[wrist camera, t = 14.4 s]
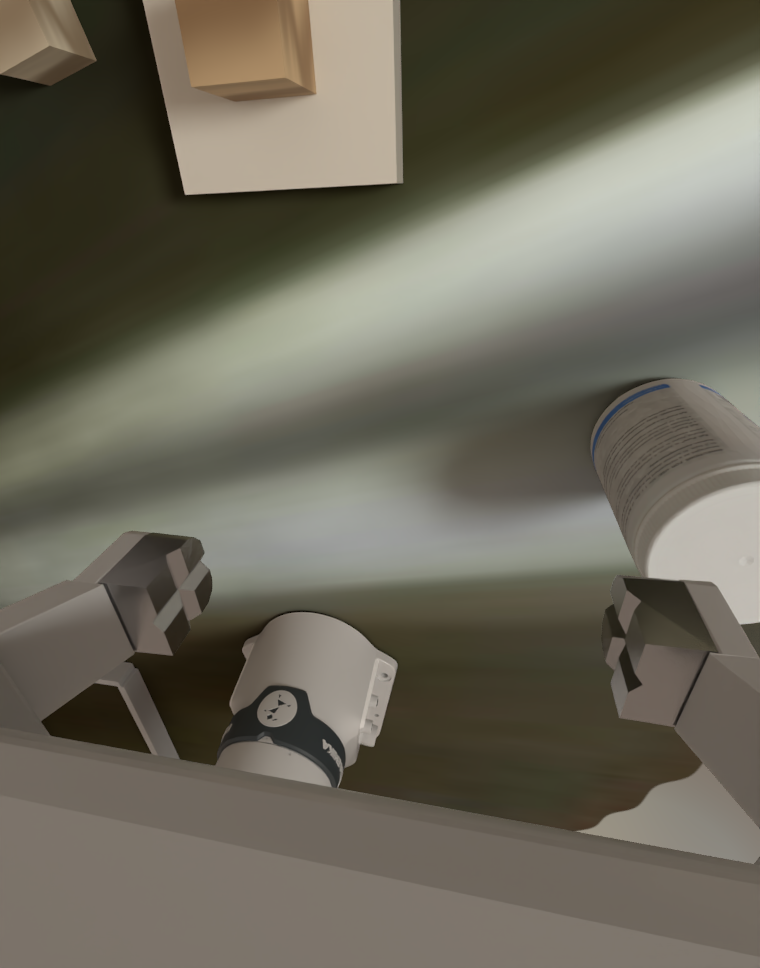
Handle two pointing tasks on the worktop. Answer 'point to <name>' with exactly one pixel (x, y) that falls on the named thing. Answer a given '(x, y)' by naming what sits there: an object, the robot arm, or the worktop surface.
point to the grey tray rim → (141, 708)
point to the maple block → (42, 40)
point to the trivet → (293, 109)
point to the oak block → (248, 47)
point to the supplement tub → (685, 486)
